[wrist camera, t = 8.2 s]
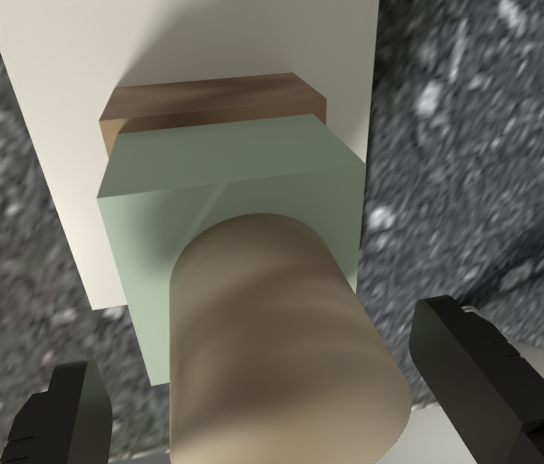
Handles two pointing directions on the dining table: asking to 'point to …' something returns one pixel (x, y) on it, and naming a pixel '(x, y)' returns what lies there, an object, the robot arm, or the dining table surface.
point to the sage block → (220, 202)
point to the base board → (166, 69)
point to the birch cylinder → (275, 353)
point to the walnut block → (207, 103)
